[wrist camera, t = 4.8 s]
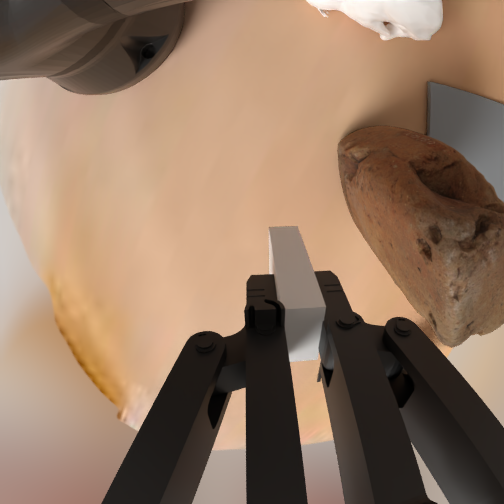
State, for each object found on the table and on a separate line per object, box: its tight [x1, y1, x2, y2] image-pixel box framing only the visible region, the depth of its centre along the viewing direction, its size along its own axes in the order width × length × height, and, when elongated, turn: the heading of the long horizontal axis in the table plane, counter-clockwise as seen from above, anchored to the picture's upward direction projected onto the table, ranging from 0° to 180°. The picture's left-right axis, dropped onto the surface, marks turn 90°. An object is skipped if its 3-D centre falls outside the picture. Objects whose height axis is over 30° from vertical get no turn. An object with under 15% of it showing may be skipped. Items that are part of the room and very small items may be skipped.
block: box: [337, 126, 504, 348], centre depth 19 cm, size 11×8×20 cm
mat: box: [427, 82, 504, 202], centre depth 28 cm, size 22×20×1 cm
